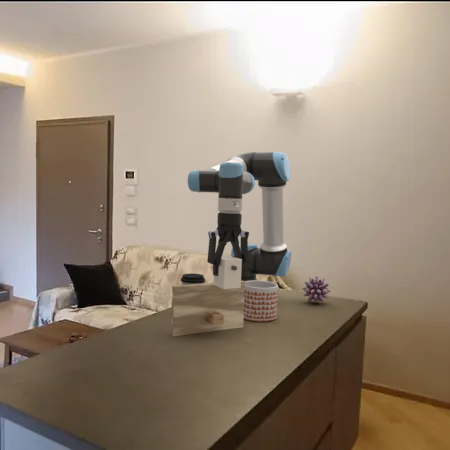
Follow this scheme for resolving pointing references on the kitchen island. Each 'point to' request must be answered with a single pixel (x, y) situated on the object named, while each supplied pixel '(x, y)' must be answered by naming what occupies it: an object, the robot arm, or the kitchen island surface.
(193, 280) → the coffee cup
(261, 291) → the planter
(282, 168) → the robot arm
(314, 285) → the purple spiky ball
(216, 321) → the wooden board
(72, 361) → the kitchen island surface
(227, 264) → the cabinet
